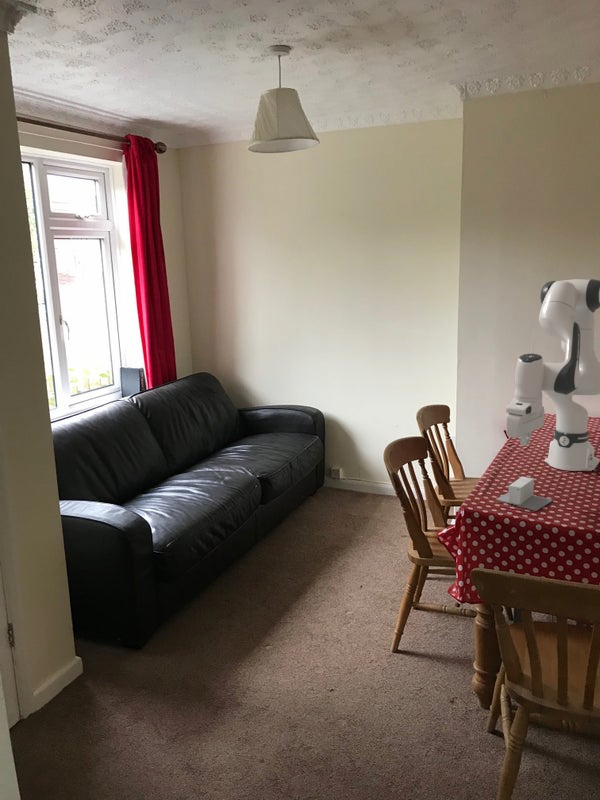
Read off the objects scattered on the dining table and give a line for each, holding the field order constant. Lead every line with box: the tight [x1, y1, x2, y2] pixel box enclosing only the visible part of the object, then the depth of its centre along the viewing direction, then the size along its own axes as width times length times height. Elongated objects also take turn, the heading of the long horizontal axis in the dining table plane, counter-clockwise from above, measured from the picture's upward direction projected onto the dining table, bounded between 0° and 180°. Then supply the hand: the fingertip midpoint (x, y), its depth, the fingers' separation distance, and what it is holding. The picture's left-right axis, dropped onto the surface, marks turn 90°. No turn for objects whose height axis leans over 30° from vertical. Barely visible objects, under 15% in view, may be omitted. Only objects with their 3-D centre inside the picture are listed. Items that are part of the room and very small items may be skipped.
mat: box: [495, 491, 553, 512], centre depth 221 cm, size 12×14×1 cm
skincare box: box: [508, 476, 535, 505], centre depth 220 cm, size 6×4×12 cm
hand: (524, 444), depth 220 cm, fingers closed
